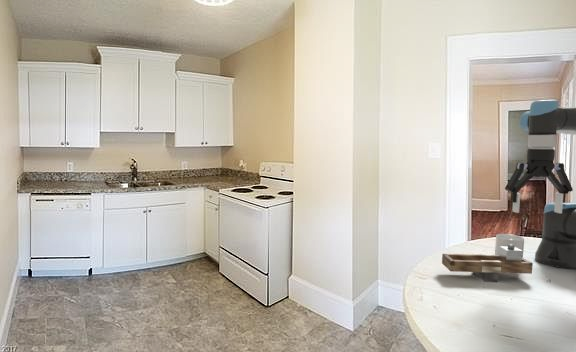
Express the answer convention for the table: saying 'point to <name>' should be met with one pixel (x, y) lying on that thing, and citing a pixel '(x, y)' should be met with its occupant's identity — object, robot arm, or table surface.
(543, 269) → the table surface
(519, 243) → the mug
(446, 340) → the table surface
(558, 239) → the robot arm
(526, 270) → the beam
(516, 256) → the white block with knob
